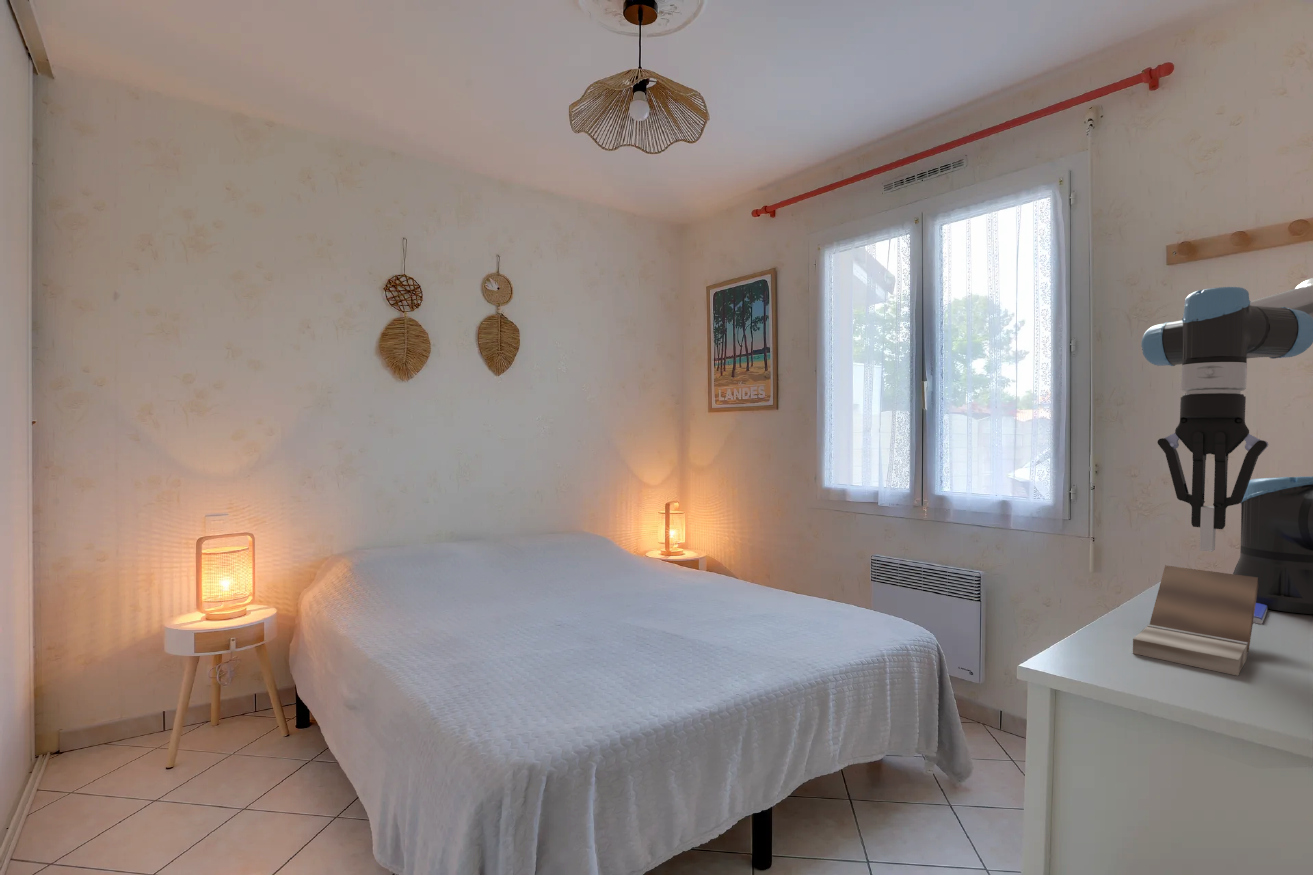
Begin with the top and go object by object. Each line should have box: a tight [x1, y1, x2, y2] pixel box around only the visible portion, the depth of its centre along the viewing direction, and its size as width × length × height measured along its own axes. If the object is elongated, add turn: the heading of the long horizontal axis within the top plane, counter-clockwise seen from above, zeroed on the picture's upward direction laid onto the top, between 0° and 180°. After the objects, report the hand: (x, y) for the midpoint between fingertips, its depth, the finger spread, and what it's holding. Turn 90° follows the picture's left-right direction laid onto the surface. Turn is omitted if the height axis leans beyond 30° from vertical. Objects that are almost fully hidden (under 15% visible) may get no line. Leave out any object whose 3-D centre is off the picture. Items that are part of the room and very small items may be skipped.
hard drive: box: [1253, 603, 1268, 624], centre depth 115 cm, size 2×8×12 cm
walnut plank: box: [1149, 564, 1258, 653], centre depth 99 cm, size 13×11×2 cm
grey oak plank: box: [1132, 623, 1248, 677], centre depth 91 cm, size 10×11×2 cm
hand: (1207, 549), depth 100 cm, fingers closed
